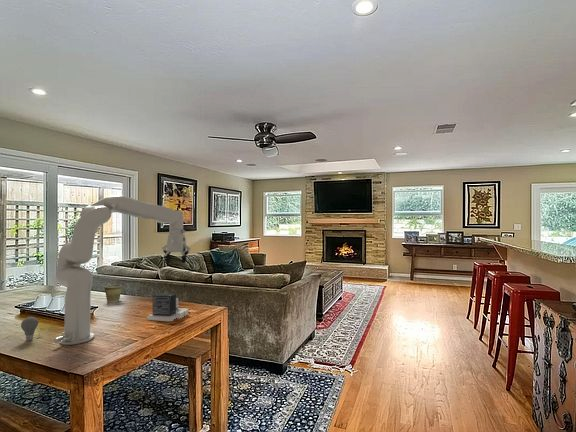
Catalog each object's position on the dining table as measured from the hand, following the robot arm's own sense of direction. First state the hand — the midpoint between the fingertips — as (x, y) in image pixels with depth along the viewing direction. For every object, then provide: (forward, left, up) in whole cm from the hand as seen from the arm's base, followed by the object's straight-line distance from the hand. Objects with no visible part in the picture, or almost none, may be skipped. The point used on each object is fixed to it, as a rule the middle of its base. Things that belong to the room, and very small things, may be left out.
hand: (176, 262), depth 186 cm
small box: (-11, 0, -26) cm, 29 cm away
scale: (-7, -1, -28) cm, 29 cm away
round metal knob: (-2, 0, -26) cm, 26 cm away
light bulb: (-53, +38, -28) cm, 71 cm away
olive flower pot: (+14, +53, -28) cm, 62 cm away
